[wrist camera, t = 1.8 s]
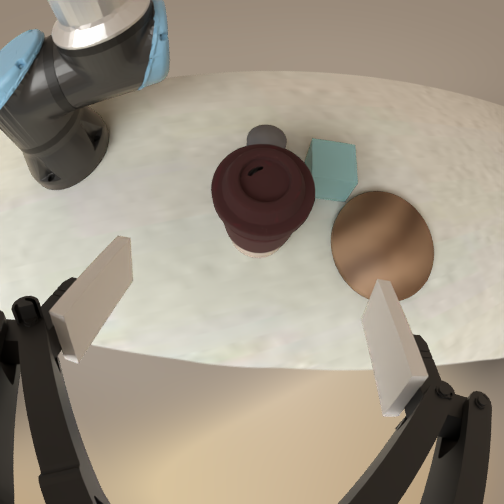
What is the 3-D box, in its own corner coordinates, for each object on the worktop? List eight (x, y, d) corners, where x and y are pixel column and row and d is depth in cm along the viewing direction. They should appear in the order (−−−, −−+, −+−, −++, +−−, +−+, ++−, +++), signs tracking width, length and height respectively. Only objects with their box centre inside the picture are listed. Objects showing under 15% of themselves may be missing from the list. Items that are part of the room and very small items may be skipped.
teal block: (303, 196, 45) (312, 176, 39) (304, 161, 46) (312, 138, 40) (344, 202, 45) (357, 183, 39) (343, 166, 46) (355, 145, 40)
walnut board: (307, 241, 43) (308, 239, 42) (376, 175, 46) (379, 172, 45) (386, 327, 40) (390, 326, 39) (445, 250, 43) (450, 248, 42)
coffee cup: (297, 267, 42) (325, 228, 27) (220, 270, 41) (209, 231, 27) (291, 197, 44) (312, 134, 30) (219, 199, 44) (210, 135, 30)
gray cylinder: (238, 166, 46) (238, 138, 39) (263, 147, 47) (267, 118, 40) (262, 189, 45) (266, 163, 38) (287, 168, 46) (294, 141, 39)
